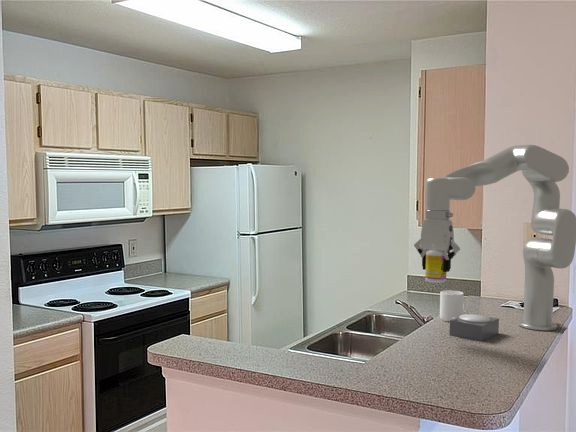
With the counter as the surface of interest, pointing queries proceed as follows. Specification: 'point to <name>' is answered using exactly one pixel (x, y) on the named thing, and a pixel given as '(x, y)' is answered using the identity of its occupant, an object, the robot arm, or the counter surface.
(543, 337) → the counter surface
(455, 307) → the mug
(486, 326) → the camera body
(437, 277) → the supplement bottle
